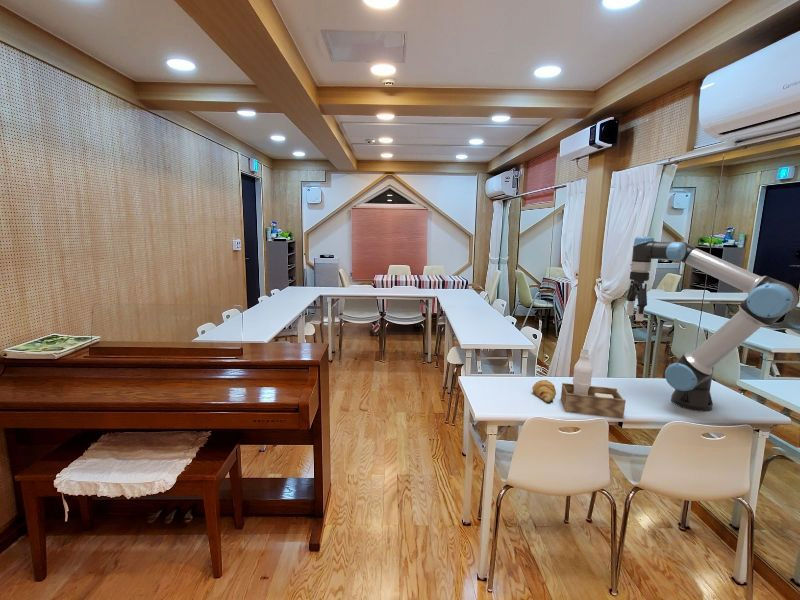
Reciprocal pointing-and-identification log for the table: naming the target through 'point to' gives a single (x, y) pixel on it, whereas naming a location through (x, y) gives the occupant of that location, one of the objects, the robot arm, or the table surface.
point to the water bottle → (582, 374)
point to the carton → (603, 395)
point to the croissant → (544, 390)
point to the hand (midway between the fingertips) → (634, 317)
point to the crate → (593, 401)
